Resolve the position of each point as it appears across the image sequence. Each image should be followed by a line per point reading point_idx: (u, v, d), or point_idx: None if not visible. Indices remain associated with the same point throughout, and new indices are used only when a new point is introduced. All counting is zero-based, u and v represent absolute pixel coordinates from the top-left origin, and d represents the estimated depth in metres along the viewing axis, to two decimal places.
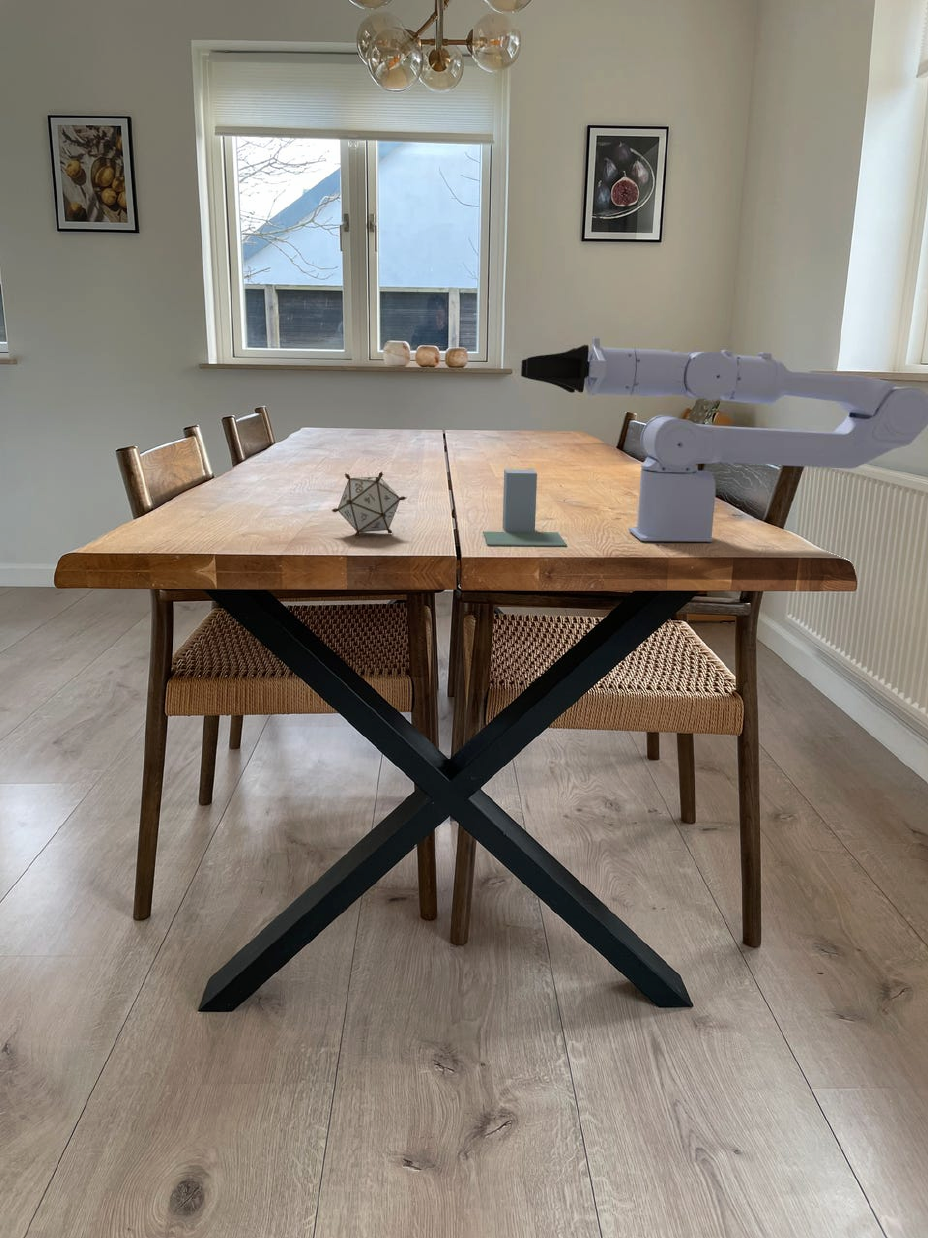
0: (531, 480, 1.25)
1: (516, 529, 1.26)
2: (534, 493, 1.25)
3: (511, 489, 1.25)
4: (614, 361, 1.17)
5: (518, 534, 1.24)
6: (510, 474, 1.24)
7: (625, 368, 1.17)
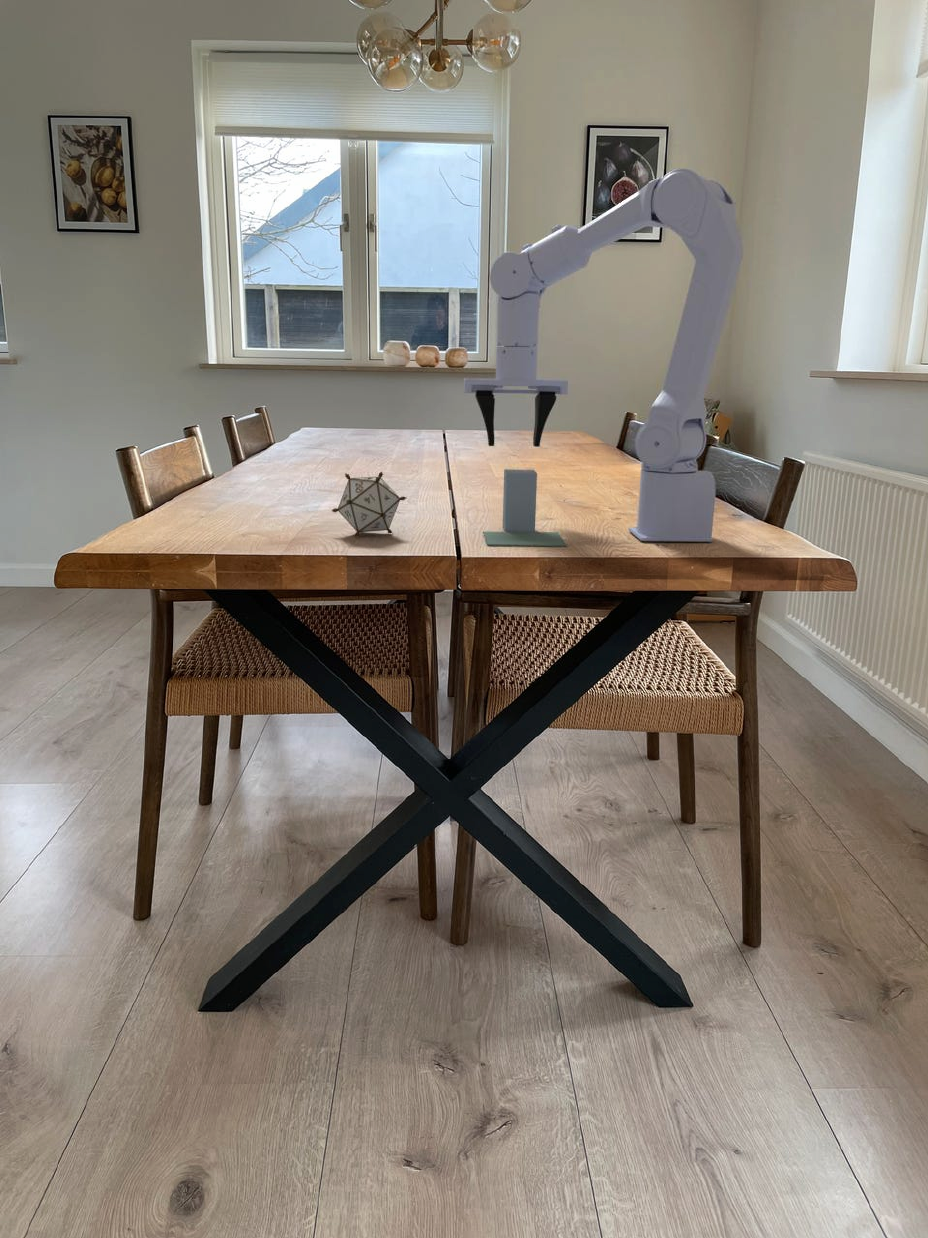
0: (531, 480, 1.25)
1: (516, 529, 1.26)
2: (534, 493, 1.25)
3: (511, 489, 1.25)
4: None
5: (518, 534, 1.24)
6: (510, 474, 1.24)
7: (496, 355, 1.32)
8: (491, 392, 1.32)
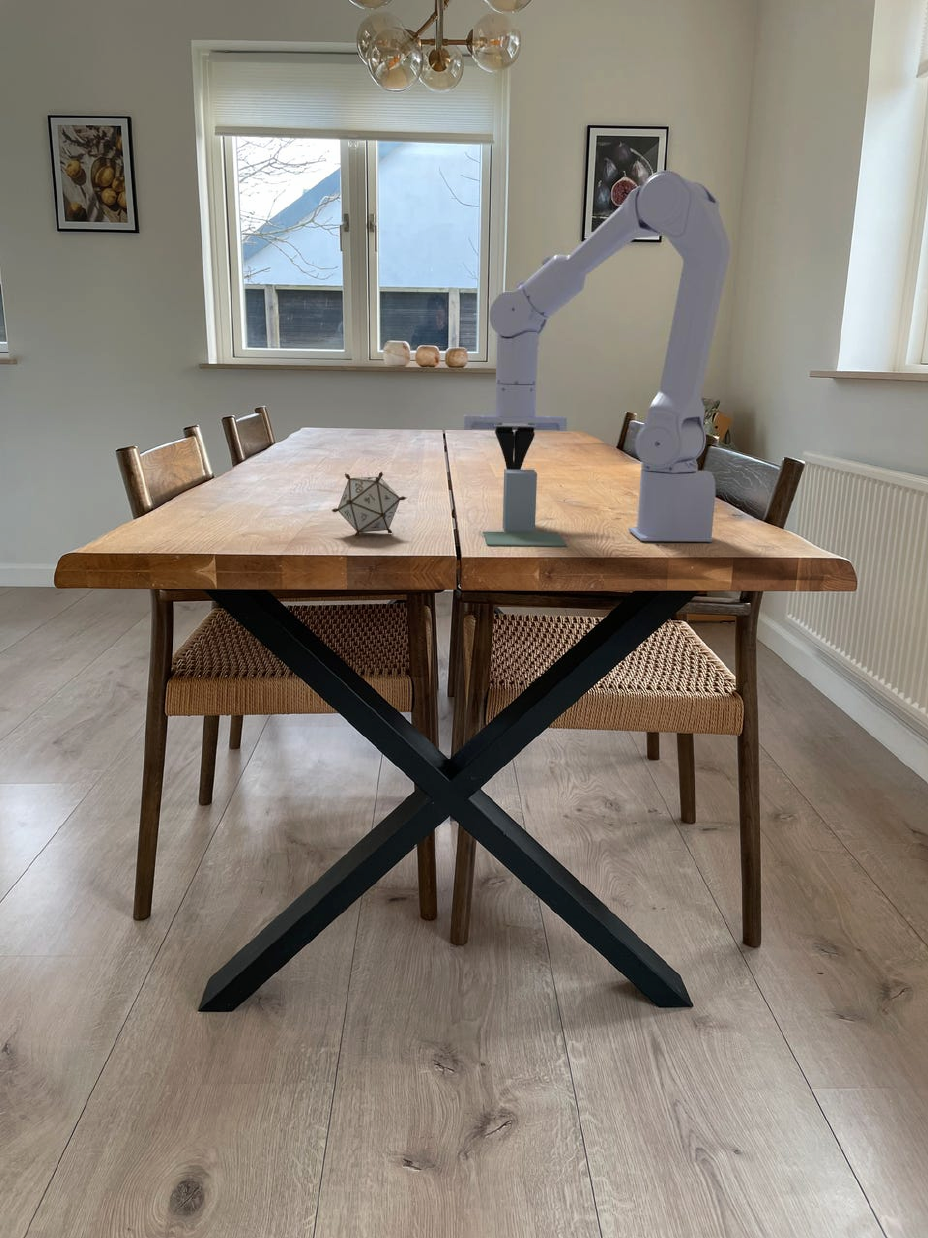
0: (531, 480, 1.25)
1: (516, 529, 1.26)
2: (534, 493, 1.25)
3: (511, 489, 1.25)
4: None
5: (518, 534, 1.24)
6: (510, 474, 1.24)
7: None
8: (511, 429, 1.33)
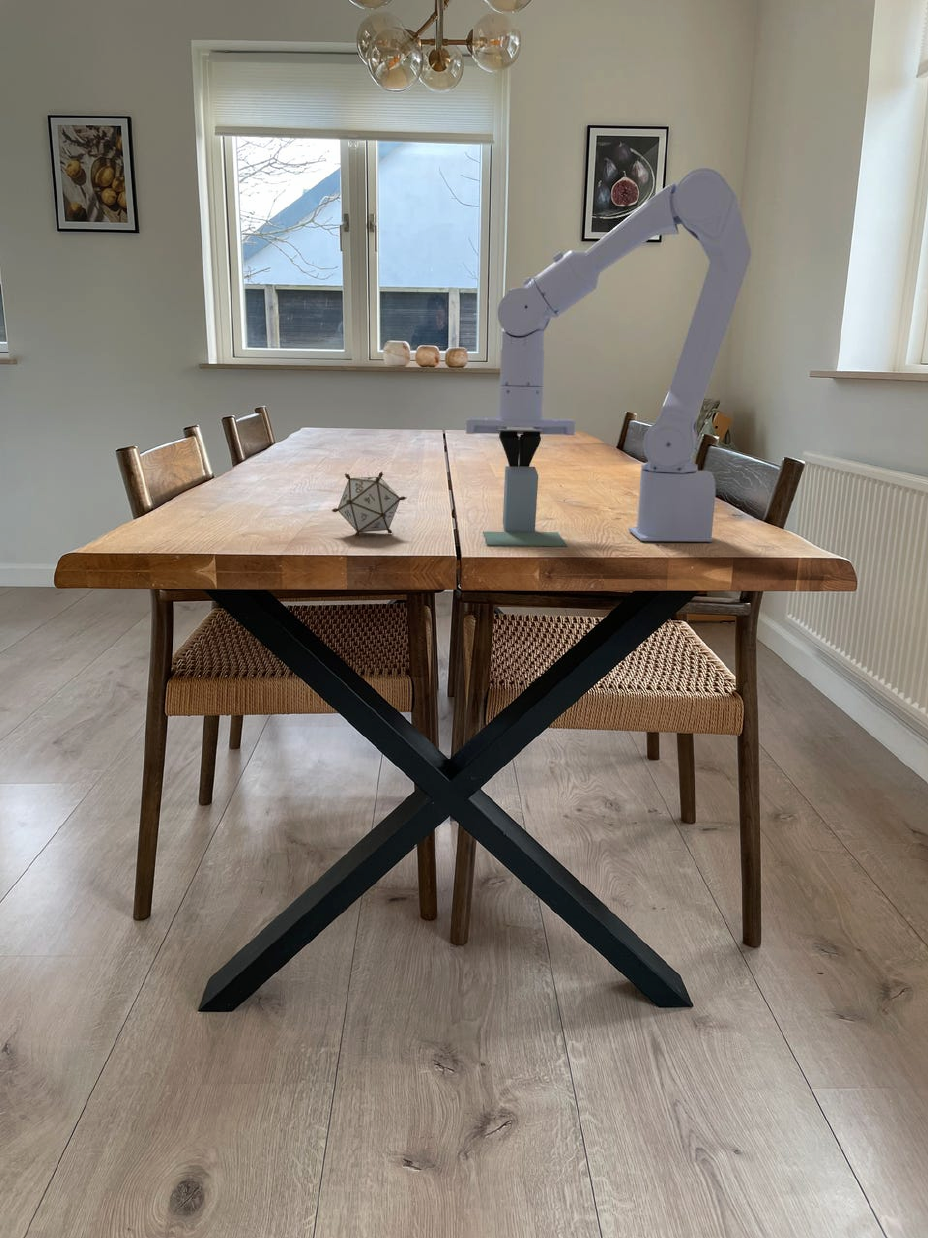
0: (532, 482, 1.23)
1: (516, 529, 1.26)
2: (535, 495, 1.24)
3: (512, 491, 1.24)
4: None
5: (518, 534, 1.24)
6: (511, 476, 1.23)
7: None
8: (516, 433, 1.26)
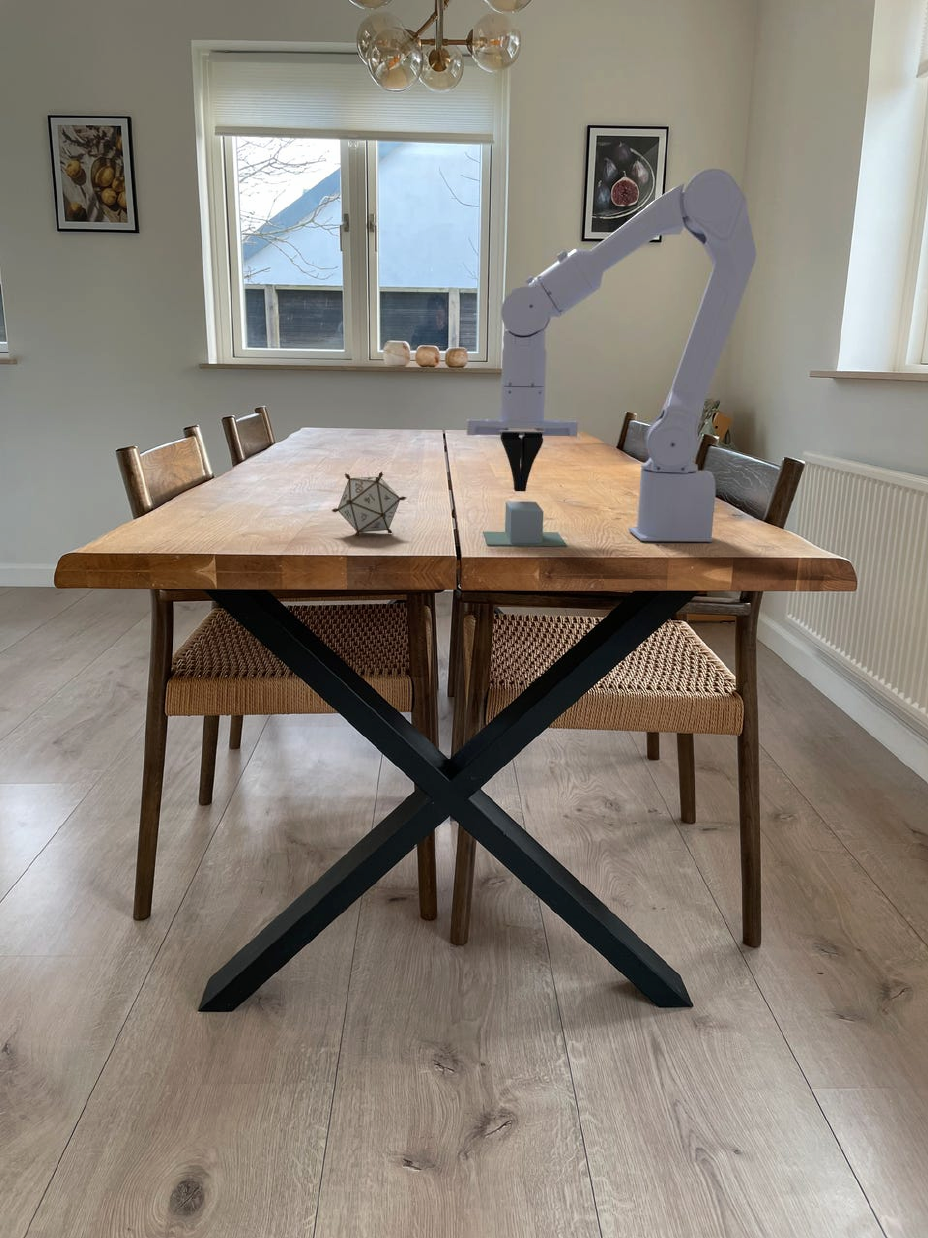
0: None
1: None
2: None
3: None
4: None
5: None
6: (514, 542, 1.19)
7: (501, 395, 1.24)
8: (518, 435, 1.24)
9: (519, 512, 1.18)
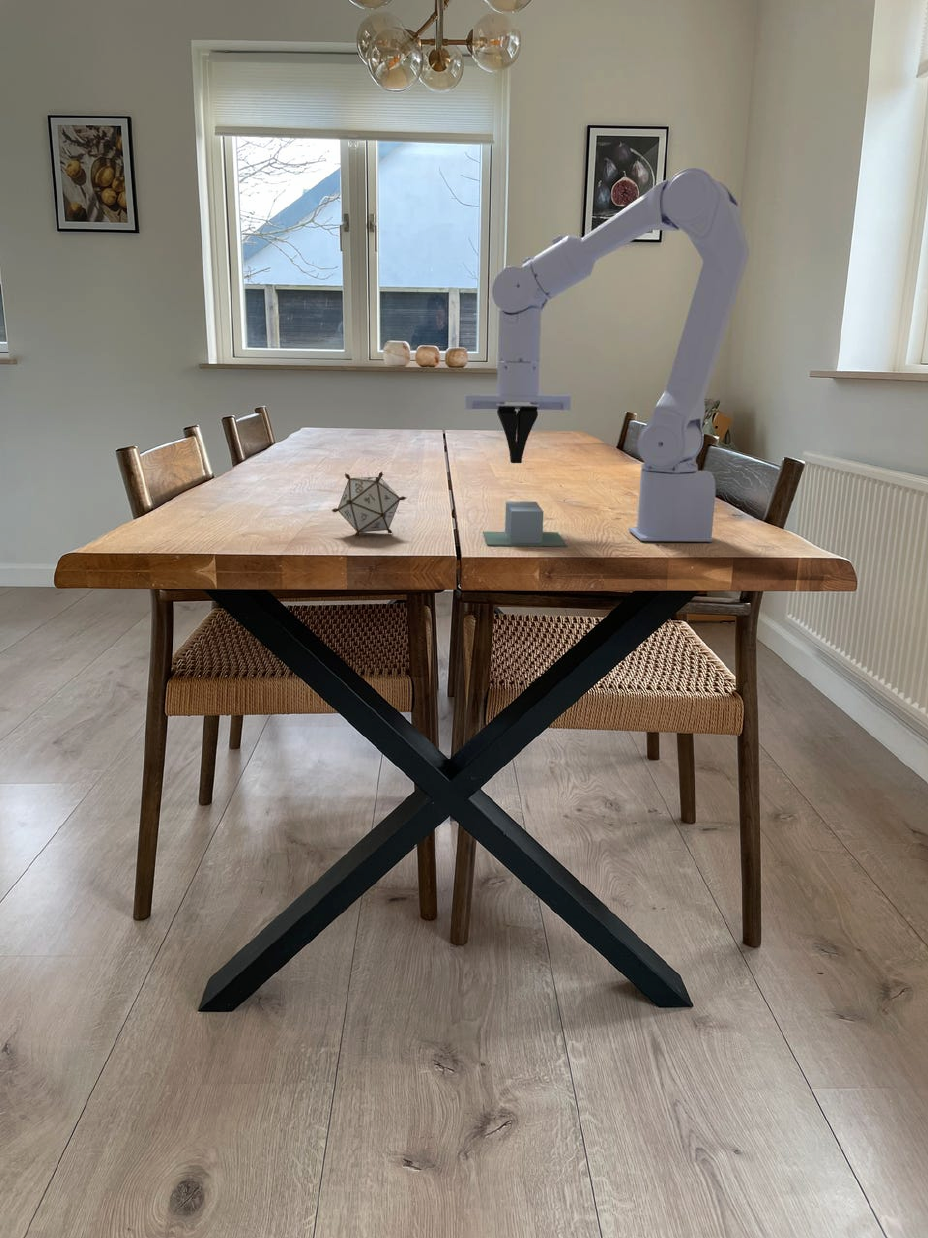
0: None
1: None
2: None
3: None
4: None
5: None
6: (514, 542, 1.19)
7: None
8: (513, 408, 1.30)
9: (519, 512, 1.18)
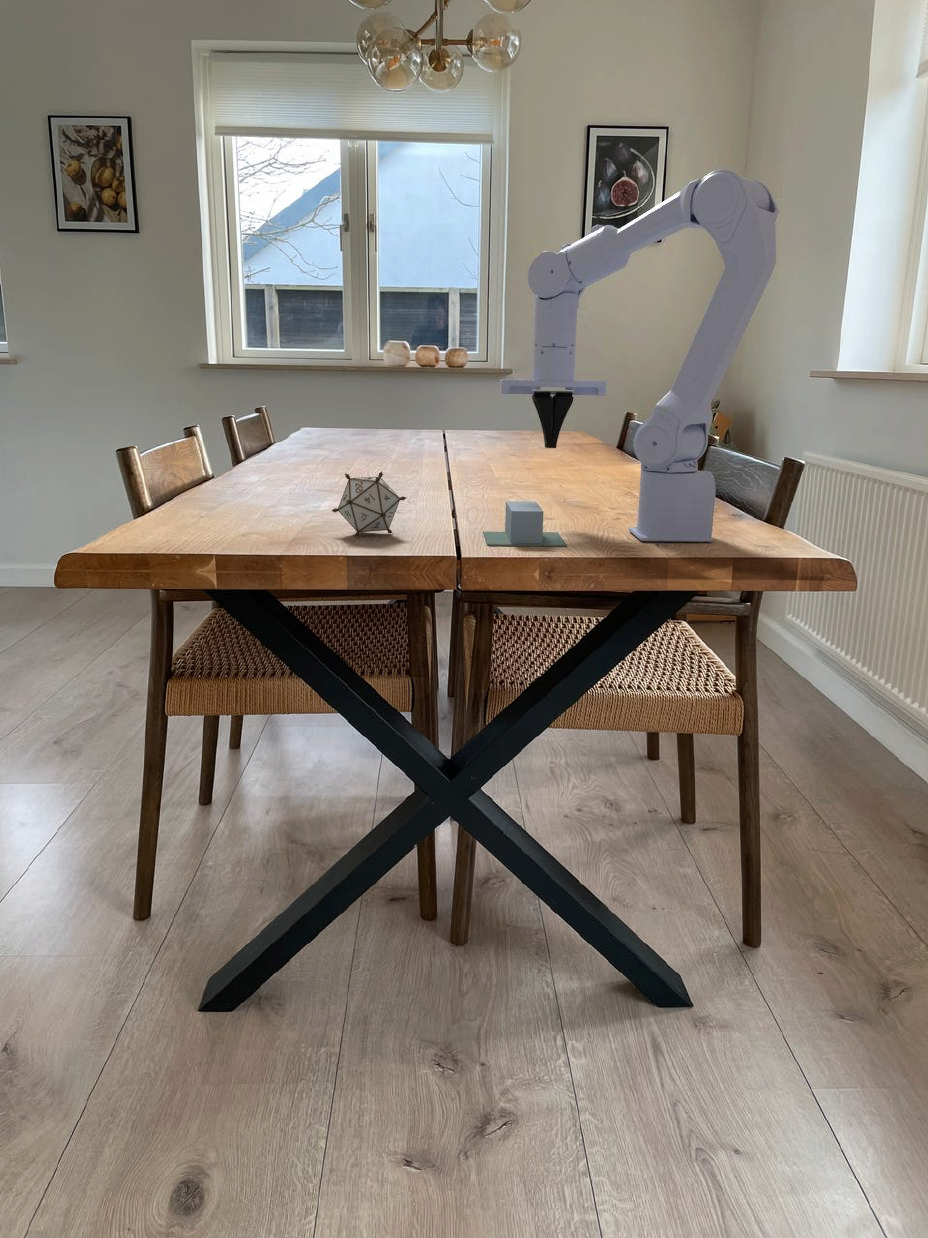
0: None
1: None
2: None
3: None
4: None
5: None
6: (514, 542, 1.19)
7: (533, 356, 1.30)
8: (549, 394, 1.31)
9: (519, 512, 1.18)
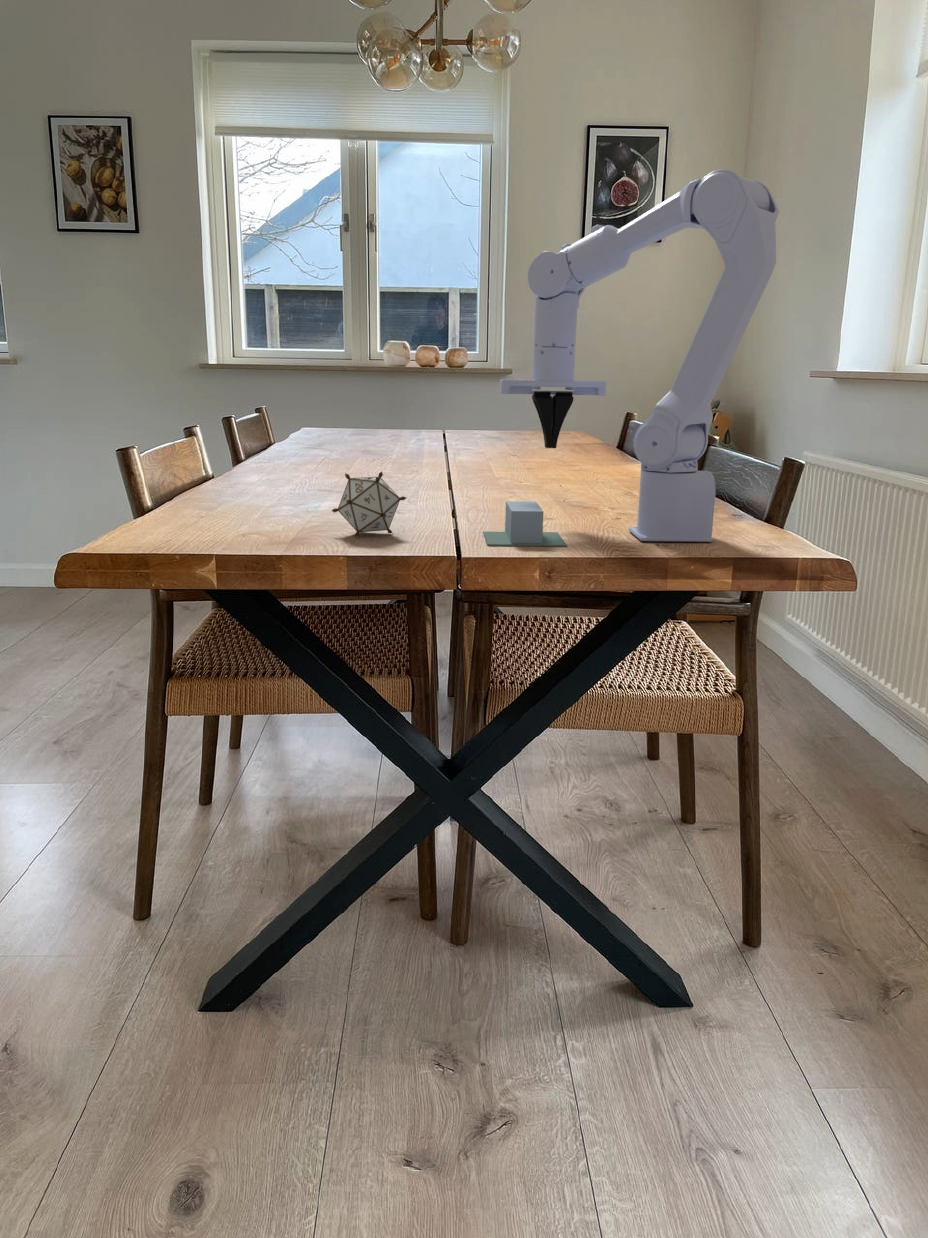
0: None
1: None
2: None
3: None
4: None
5: None
6: (514, 542, 1.19)
7: (533, 356, 1.30)
8: (549, 394, 1.31)
9: (519, 512, 1.18)
